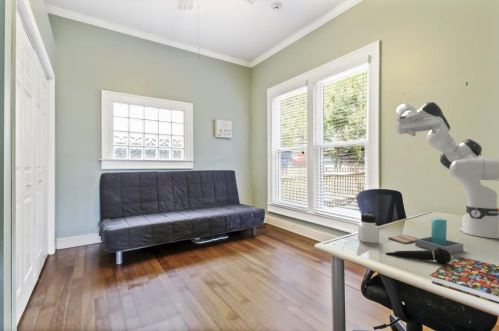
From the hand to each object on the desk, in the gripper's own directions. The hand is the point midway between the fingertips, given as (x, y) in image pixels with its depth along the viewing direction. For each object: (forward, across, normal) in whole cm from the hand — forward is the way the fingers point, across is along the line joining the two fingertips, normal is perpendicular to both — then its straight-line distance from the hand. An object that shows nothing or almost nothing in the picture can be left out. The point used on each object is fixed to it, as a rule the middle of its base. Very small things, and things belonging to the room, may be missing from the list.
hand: (424, 133), depth 126 cm
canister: (+51, +11, -23) cm, 57 cm away
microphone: (+63, +26, -12) cm, 69 cm away
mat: (+44, +21, -28) cm, 56 cm away
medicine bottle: (+46, +38, -23) cm, 64 cm away
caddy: (+51, +11, -23) cm, 57 cm away
